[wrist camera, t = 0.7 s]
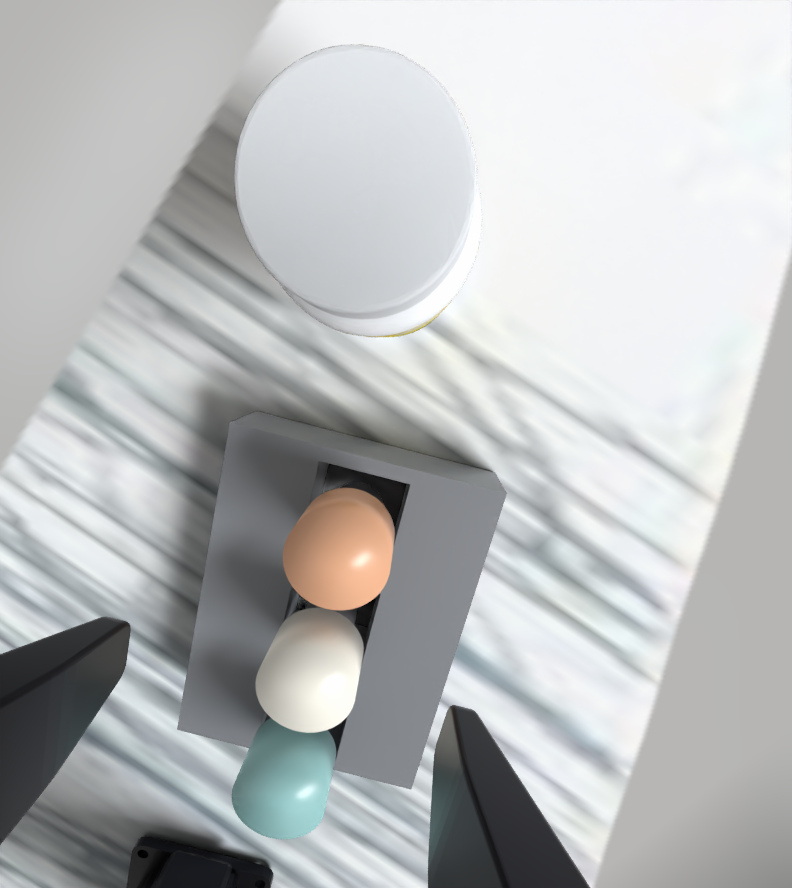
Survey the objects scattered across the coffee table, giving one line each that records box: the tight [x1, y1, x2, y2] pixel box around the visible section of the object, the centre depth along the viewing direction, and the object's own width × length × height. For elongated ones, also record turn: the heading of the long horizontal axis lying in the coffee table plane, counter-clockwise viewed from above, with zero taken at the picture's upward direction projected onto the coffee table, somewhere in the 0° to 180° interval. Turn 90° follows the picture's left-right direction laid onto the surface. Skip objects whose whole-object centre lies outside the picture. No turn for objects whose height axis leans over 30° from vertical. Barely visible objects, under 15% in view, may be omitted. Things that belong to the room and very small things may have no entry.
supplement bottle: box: [234, 45, 482, 337], centre depth 11 cm, size 5×5×8 cm
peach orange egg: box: [283, 482, 395, 610], centre depth 14 cm, size 3×3×4 cm
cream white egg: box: [255, 601, 364, 733], centre depth 15 cm, size 3×3×4 cm
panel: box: [177, 411, 507, 789], centre depth 17 cm, size 12×9×2 cm
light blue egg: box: [232, 718, 336, 839], centre depth 16 cm, size 3×3×4 cm
